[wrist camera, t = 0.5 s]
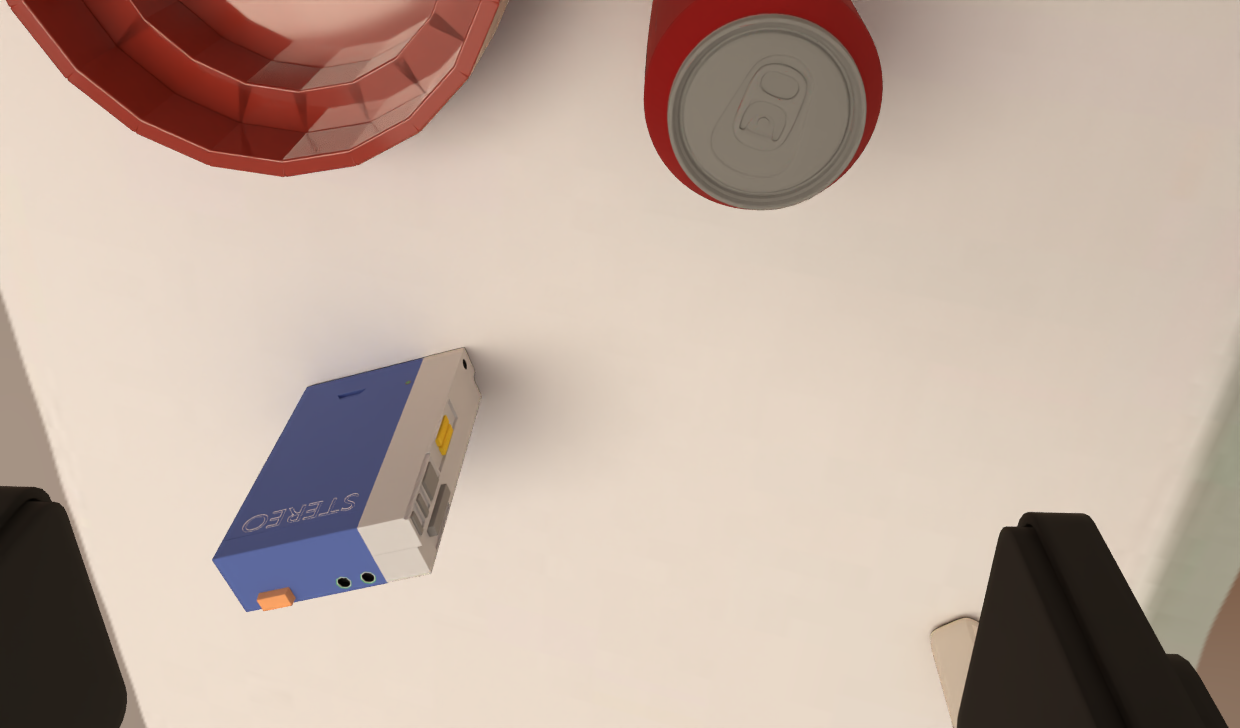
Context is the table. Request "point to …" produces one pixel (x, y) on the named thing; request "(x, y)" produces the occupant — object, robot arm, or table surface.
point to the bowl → (267, 71)
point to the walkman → (354, 485)
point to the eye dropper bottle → (954, 659)
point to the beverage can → (760, 96)
